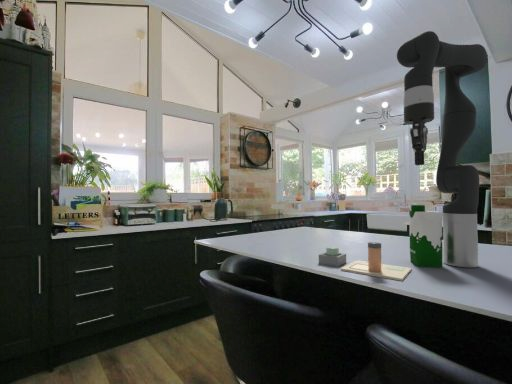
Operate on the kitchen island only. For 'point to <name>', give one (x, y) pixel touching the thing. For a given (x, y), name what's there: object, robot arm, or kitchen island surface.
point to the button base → (332, 259)
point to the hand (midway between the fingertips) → (419, 165)
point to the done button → (332, 251)
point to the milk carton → (425, 237)
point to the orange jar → (374, 257)
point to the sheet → (386, 272)
